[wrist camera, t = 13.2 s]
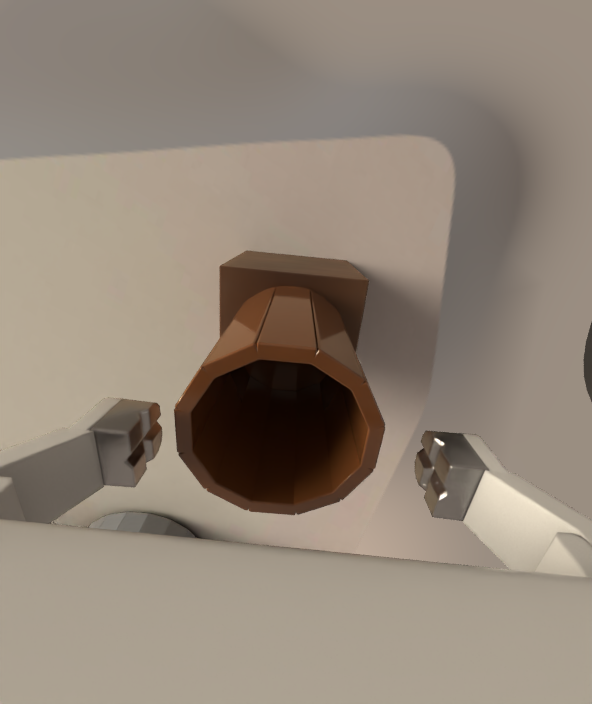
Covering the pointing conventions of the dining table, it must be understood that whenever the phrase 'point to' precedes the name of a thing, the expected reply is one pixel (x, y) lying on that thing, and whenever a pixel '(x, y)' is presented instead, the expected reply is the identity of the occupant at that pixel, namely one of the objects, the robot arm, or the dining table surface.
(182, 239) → the dining table surface
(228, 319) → the stand
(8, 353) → the dining table surface
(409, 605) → the robot arm
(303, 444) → the cup
